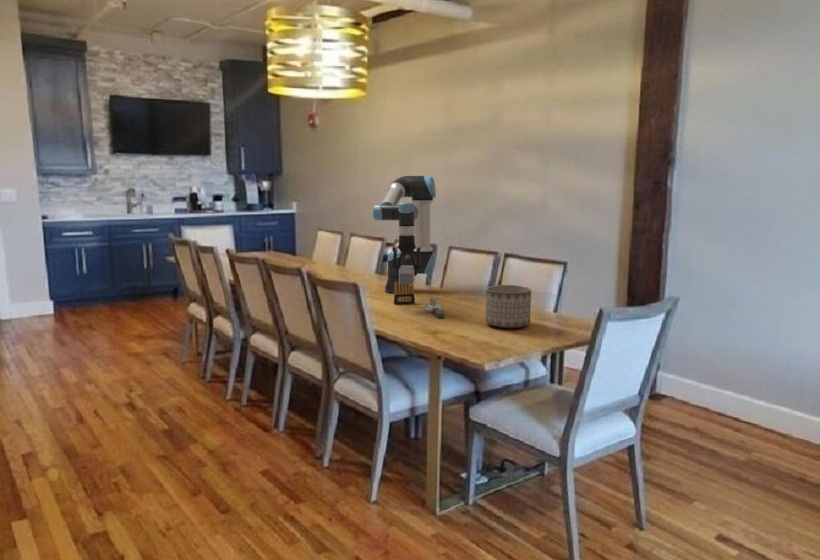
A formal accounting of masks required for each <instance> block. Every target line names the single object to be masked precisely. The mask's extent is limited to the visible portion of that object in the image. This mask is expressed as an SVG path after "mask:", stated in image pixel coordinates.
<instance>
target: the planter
mask: <svg viewBox="0 0 820 560" xmlns="http://www.w3.org/2000/svg"><path fill="white" fill-rule="evenodd" d="M531 303H532V288H530V287H527V286H524V285H515V284H497V285H496V284H495V285H490V286H487V287H486V293H485V322H486V323H487V324H488V325H490V326H495V327H497V328H502V329H518V328H521V327H526V326H529V325H530V323H531V308H532V306H531Z"/></svg>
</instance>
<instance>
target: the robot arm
mask: <svg viewBox="0 0 820 560" xmlns="http://www.w3.org/2000/svg"><path fill="white" fill-rule="evenodd" d="M436 196H437V190H436V183H435V179H434V177H433V176H431V175H404V176H403V175H402V176H400V177H398V178H396V179H394V181H392V182H391V183H390V184H389V186H388V187H387V193H386V195H385V196H384V199H383V200H382V202H381V204H376V205H373V209H372V217H373V219H374V220H375V221H398V245H397V246H394V247H392V251H390V252H389V253H388V254H387V281H386V283H385V286H384V292H385V293H387V294H392V295H394V288H395V281H396V283H397V294H398V282H400V267H401V266H402V265H409V266H414V269H413V283H416V276H417V275H418V274H419V275H420V274H421V275H423V274H424V275H429V274H433V272H434V270H435V264H436V253H435V252H434V249H433V248H431V204H432V202H433V201H434V198H436ZM402 198H411V201H405V202H403V201H402V202H401V201H400V200H402ZM401 285H402V284H400V288H401ZM404 288H405V284H404ZM410 288H411V284H410ZM407 290H408V284H407Z"/></svg>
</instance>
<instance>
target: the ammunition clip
mask: <svg viewBox="0 0 820 560" xmlns="http://www.w3.org/2000/svg"><path fill="white" fill-rule="evenodd" d="M414 283H415V282H414ZM414 283H413V284H411V288H410V284H408V290H407V284H405V288H404V284H402V285H401V288H400V282H398V294H397V283H396V281H395V288H394V294H393V304H394V305H396V306H397V305H410V304H411V305H413V304H414V305H415V303H416V302H415V299H416V298H415V286H414V285H415V284H414Z"/></svg>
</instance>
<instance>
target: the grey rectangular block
mask: <svg viewBox="0 0 820 560" xmlns="http://www.w3.org/2000/svg"><path fill="white" fill-rule="evenodd" d="M413 269H414V266H409V265H402V266H401V267H400V284H413Z"/></svg>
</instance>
